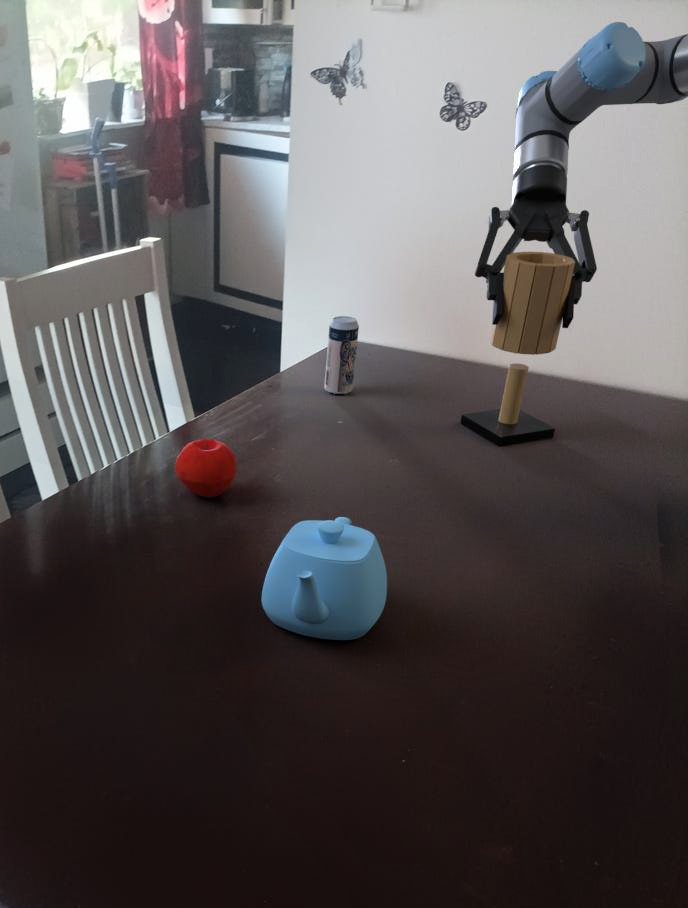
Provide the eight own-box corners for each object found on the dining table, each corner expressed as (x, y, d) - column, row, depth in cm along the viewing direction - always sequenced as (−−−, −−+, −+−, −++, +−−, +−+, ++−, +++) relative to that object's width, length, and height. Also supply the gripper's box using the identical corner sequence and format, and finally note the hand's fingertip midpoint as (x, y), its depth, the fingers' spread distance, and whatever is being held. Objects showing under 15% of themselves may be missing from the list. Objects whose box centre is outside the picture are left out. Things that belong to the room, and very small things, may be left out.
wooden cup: (567, 350, 130) (588, 262, 123) (516, 357, 128) (534, 267, 121) (528, 333, 137) (545, 249, 130) (478, 339, 134) (494, 254, 128)
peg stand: (553, 437, 138) (568, 372, 132) (498, 446, 134) (512, 380, 129) (512, 415, 145) (525, 353, 139) (460, 423, 142) (470, 360, 136)
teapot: (237, 559, 84) (292, 483, 98) (235, 653, 90) (287, 569, 104) (371, 585, 80) (408, 502, 94) (359, 681, 86) (395, 590, 100)
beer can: (345, 397, 151) (352, 324, 145) (319, 392, 153) (325, 320, 146) (356, 389, 155) (363, 318, 148) (330, 384, 157) (337, 314, 150)
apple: (168, 502, 118) (167, 449, 114) (185, 478, 124) (185, 427, 120) (227, 510, 116) (228, 456, 112) (242, 485, 122) (243, 433, 118)
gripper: (608, 199, 134) (603, 338, 130) (459, 194, 136) (449, 331, 132) (626, 163, 126) (621, 310, 122) (468, 159, 129) (458, 303, 125)
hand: (532, 321), depth 127 cm, fingers closed on wooden cup, 9 cm apart
